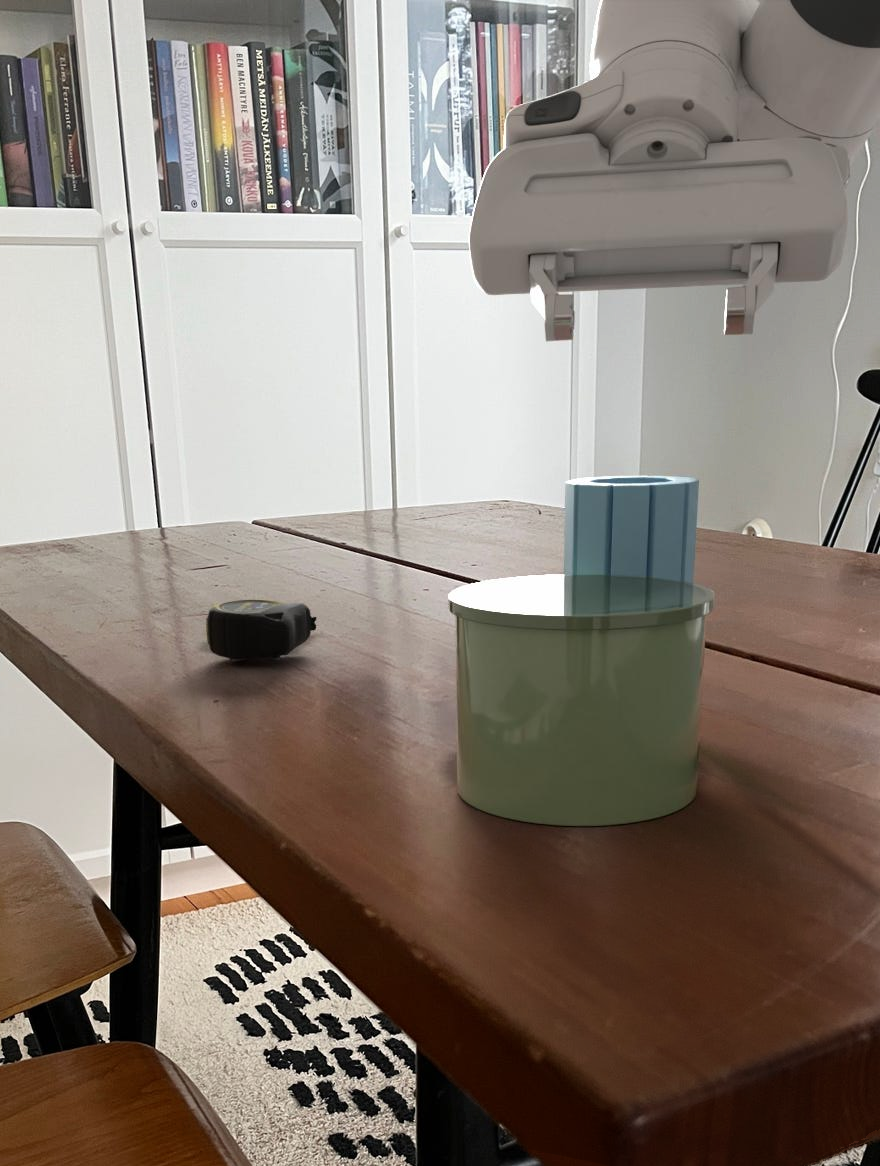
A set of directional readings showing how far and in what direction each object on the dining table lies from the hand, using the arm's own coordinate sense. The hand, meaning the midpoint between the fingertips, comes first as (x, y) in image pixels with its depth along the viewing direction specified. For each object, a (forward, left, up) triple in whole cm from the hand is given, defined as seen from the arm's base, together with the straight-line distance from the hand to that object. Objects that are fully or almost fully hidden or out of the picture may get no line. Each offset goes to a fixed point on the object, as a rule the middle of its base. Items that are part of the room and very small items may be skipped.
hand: (647, 328), depth 67 cm
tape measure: (+21, -18, -20) cm, 35 cm away
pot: (+6, +12, -20) cm, 24 cm away
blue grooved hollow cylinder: (+3, +6, -15) cm, 17 cm away
